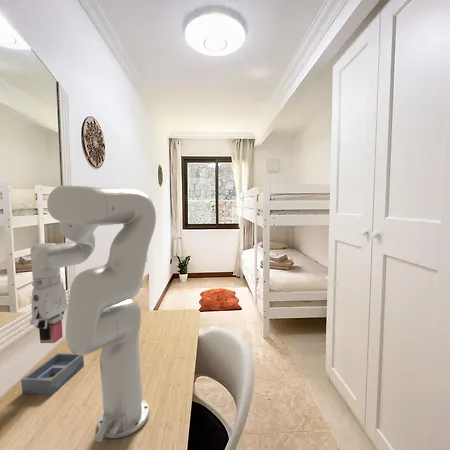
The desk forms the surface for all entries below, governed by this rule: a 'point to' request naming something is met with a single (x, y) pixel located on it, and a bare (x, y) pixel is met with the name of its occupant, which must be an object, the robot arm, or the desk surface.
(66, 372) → the walled box
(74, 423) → the desk surface
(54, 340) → the small box
